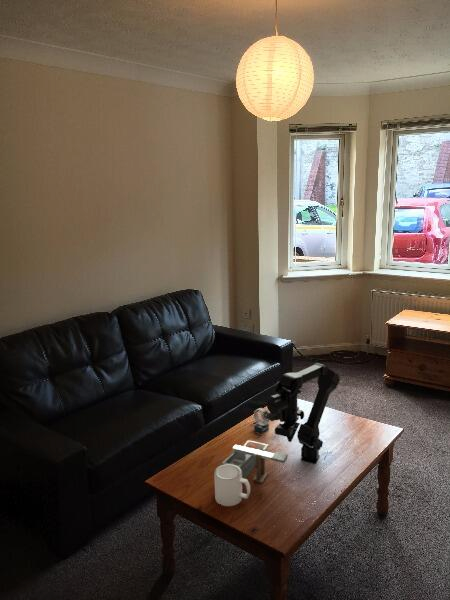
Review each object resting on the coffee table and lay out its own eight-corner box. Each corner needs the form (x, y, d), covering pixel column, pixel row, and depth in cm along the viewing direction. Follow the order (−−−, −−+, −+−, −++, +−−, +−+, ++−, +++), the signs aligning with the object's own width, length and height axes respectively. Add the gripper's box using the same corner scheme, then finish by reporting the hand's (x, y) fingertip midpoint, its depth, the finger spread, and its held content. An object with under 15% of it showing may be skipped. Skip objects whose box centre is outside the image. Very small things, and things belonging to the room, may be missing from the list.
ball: (251, 445, 203) (254, 454, 203) (256, 441, 206) (258, 450, 207) (243, 446, 205) (246, 454, 206) (248, 441, 209) (251, 450, 209)
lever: (287, 467, 185) (287, 454, 184) (283, 474, 181) (283, 460, 180) (236, 455, 195) (236, 442, 194) (231, 461, 191) (231, 448, 189)
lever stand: (268, 474, 191) (268, 449, 188) (262, 483, 185) (261, 457, 183) (259, 472, 193) (258, 447, 190) (252, 480, 187) (252, 455, 185)
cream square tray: (268, 451, 207) (268, 444, 207) (259, 463, 199) (259, 455, 198) (248, 447, 212) (248, 440, 211) (239, 458, 203) (239, 450, 203)
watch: (264, 435, 221) (264, 413, 219) (251, 430, 227) (251, 408, 224) (272, 431, 225) (272, 409, 223) (258, 425, 231) (258, 404, 228)
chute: (257, 462, 200) (257, 444, 198) (239, 486, 184) (239, 467, 182) (241, 458, 203) (241, 440, 201) (222, 481, 187) (221, 463, 185)
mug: (254, 493, 179) (254, 468, 177) (245, 510, 170) (245, 484, 167) (221, 486, 184) (220, 462, 182) (210, 502, 175) (209, 476, 172)
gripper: (279, 393, 199) (279, 427, 202) (262, 411, 182) (262, 448, 186) (304, 397, 194) (304, 432, 197) (289, 417, 177) (289, 454, 181)
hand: (289, 441), depth 190 cm, fingers closed
